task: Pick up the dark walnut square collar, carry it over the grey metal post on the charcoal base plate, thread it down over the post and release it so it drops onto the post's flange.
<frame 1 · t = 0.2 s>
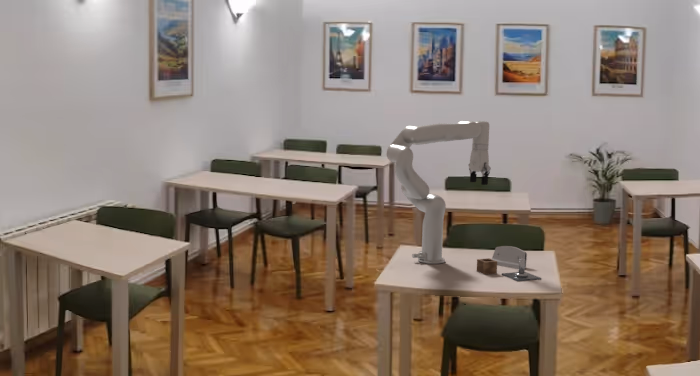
hand: (478, 183, 378), 36 cm above the table, tool pointing down, fingers open, 9 cm apart
post: (521, 276, 347), on the table
hinge: (508, 265, 370), on the table
collar: (486, 272, 354), on the table
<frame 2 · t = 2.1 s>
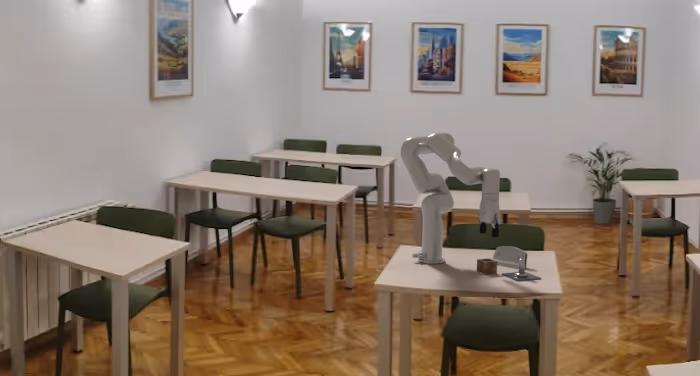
hand: (489, 235, 352), 17 cm above the table, tool pointing down, fingers open, 9 cm apart
nothing on the table moved.
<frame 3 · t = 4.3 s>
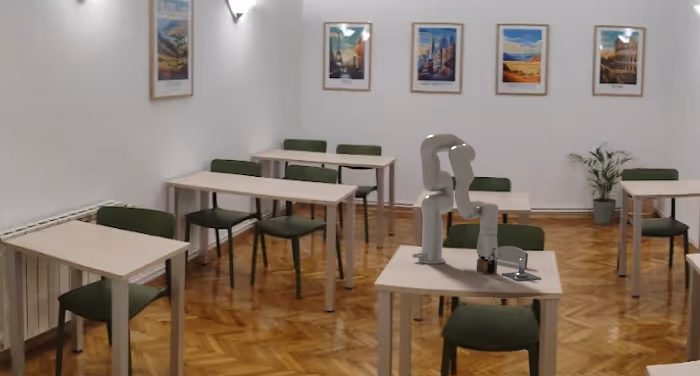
hand: (486, 270, 354), 1 cm above the table, tool pointing down, fingers closed on collar, 6 cm apart
collar: (486, 272, 354), on the table, touching gripper
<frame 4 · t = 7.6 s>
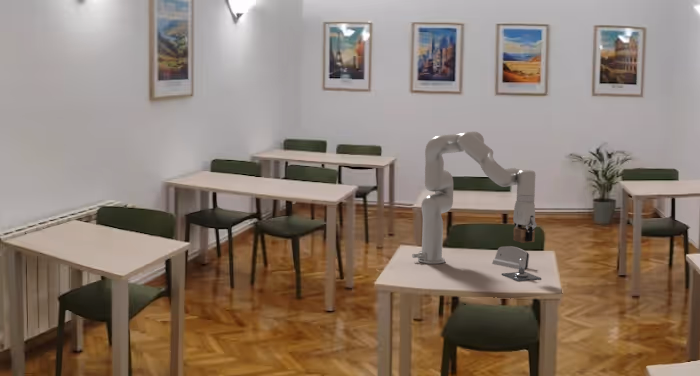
hand: (523, 239, 345), 17 cm above the table, tool pointing down, fingers closed on collar, 6 cm apart
collar: (523, 241, 345), point 16 cm above the table, touching gripper
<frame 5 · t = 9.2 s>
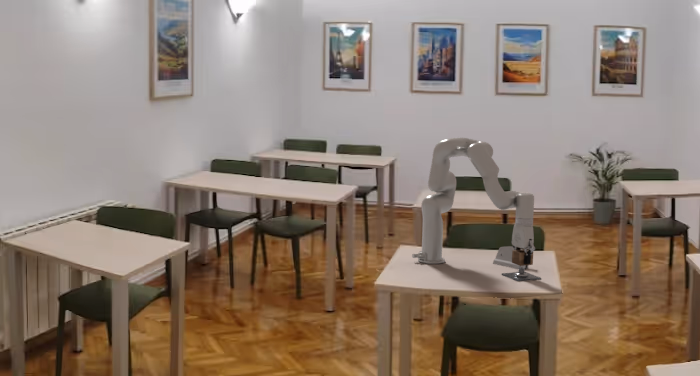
hand: (522, 261, 346), 7 cm above the table, tool pointing down, fingers closed on collar, 6 cm apart
collar: (522, 263, 346), point 6 cm above the table, touching gripper
when the fingers open (5 cm above the table, at t = 10.8 s): collar drops 3 cm, resting on post.
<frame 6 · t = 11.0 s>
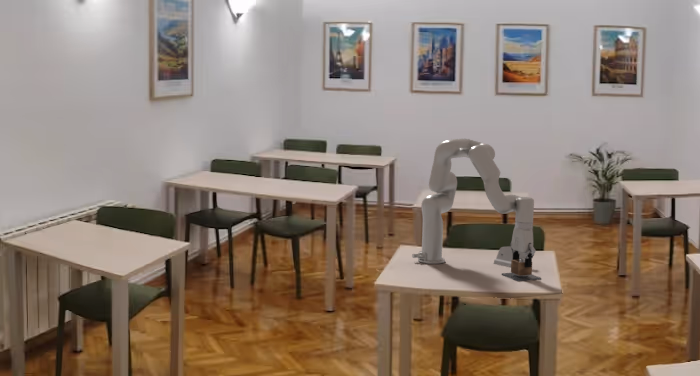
hand: (521, 264, 346), 5 cm above the table, tool pointing down, fingers open, 8 cm apart
collar: (521, 273, 347), point 2 cm above the table, touching post
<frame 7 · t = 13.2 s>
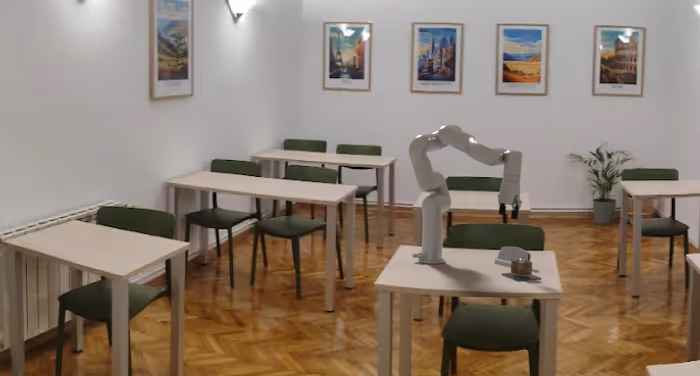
hand: (508, 216, 352), 25 cm above the table, tool pointing down, fingers open, 9 cm apart
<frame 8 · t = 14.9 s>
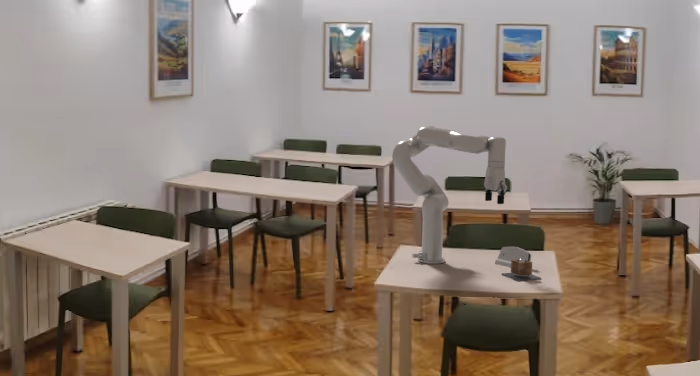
hand: (494, 202, 359), 30 cm above the table, tool pointing down, fingers open, 9 cm apart
at the end: collar 0.1 cm off-centre on the post, point 1.6 cm above the post's base; the gripper is holding nothing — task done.
